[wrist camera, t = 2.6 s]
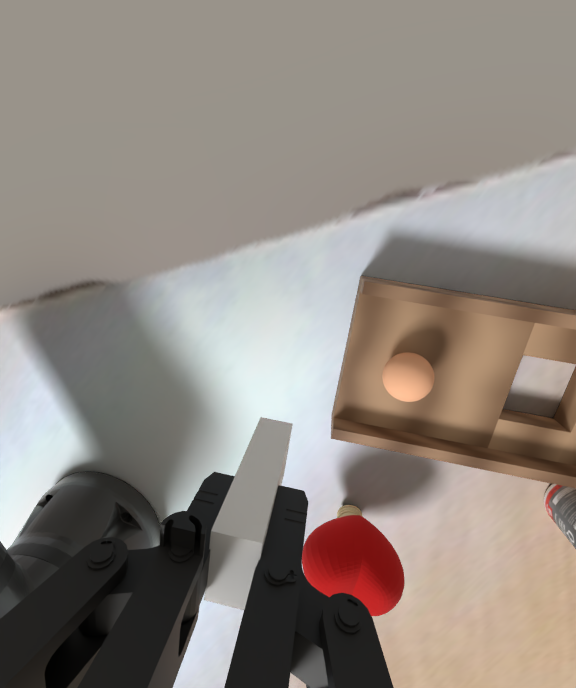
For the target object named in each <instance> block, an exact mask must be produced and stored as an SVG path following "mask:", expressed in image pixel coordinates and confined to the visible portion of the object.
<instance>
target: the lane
mask: <svg viewBox="0 0 576 688" xmlns="http://www.w3.org/2000/svg"><path fill="white" fill-rule="evenodd" d="M406 352H410V353H415V354H418V355H420V356H422V357H423V358H425V359H426V360H427V361H428V362H429V363H430V365H431V367H432V369H433V371H434V384H433V387H432V389H431V391H430V392H429V393H428V394H427V395H426V396H425V397H424V398H422V399H420V400H418V401H414V402H405V401H401V400H398V399H396V398H394V397H393V396H392V395H390V394H389V393H388V391H387V390H386V388H385V386H384V384H383V379H382V373H383V369H384V367H385V365H386V363H387V362H388V361H389V360H390V359H391V358H392V357H393V356H395V355H397V354H400V353H406ZM523 355H526V356H532V357H538V358H543V359H549V360H555V361H561V362H566V363H572V364H576V310H570V309H564V308H558V307H552V306H546V305H539V304H533V303H527V302H521V301H515V300H508V299H502V298H496V297H490V296H484V295H478V294H471V293H465V292H459V291H453V290H447V289H440V288H434V287H428V286H422V285H416V284H410V283H403V282H397V281H391V280H385V279H379V278H372V277H366V276H361V277H360V281H359V286H358V291H357V296H356V300H355V305H354V310H353V315H352V320H351V324H350V329H349V334H348V339H347V344H346V348H345V353H344V358H343V363H342V367H341V372H340V377H339V382H338V387H337V391H336V396H335V401H334V406H333V411H332V423H331V439H336V440H341V441H346V442H351V443H356V444H361V445H366V446H371V447H375V448H380V449H385V450H390V451H395V452H400V453H405V454H410V455H415V456H420V457H424V458H429V459H434V460H439V461H444V462H449V463H454V464H459V465H464V466H469V467H474V468H478V469H483V470H488V471H493V472H498V473H503V474H508V475H513V476H518V477H523V478H527V479H532V480H537V481H542V482H547V483H552V484H557V485H562V486H567V487H572V488H576V367H575V370H574V372H573V374H572V377H571V379H570V381H569V384H568V386H567V388H566V391H565V393H564V395H563V397H562V400H561V402H560V404H559V407H558V409H557V411H556V414H555V416H554V418H548V417H543V416H537V415H532V414H527V413H522V412H516V411H511V410H506V409H503V406H504V404H505V401H506V398H507V396H508V393H509V390H510V388H511V385H512V383H513V380H514V377H515V375H516V372H517V369H518V367H519V364H520V361H521V359H522V356H523Z"/></svg>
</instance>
